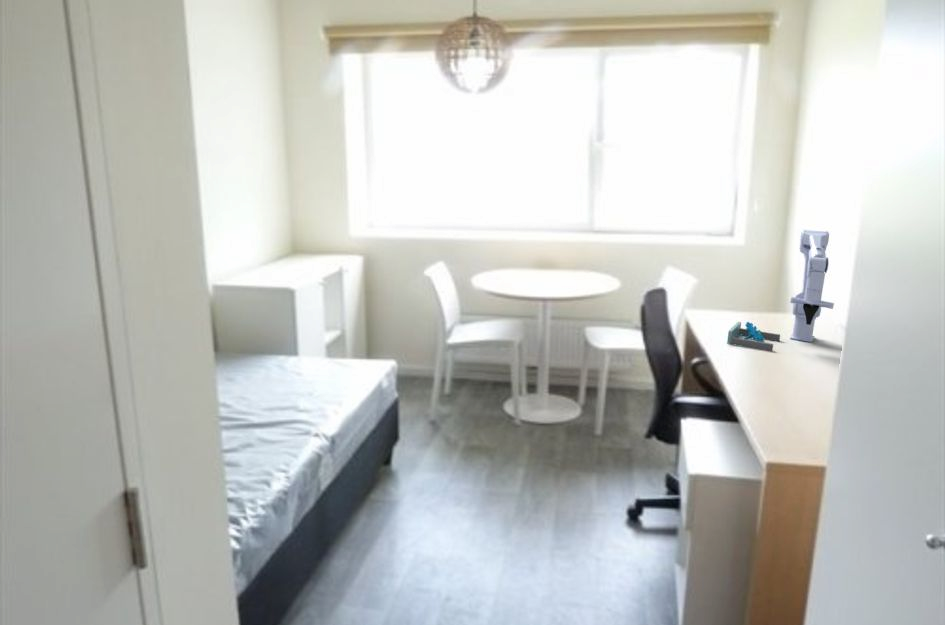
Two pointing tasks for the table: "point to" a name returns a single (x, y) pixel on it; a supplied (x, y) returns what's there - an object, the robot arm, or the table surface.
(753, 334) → the gear
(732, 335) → the grey open frame
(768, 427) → the table surface
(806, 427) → the table surface
